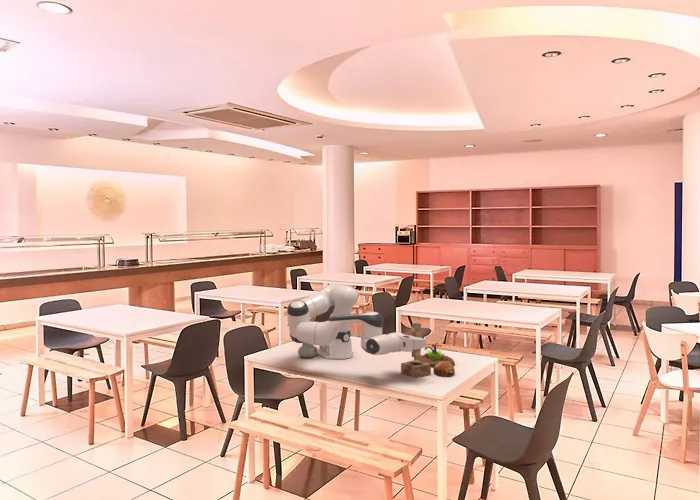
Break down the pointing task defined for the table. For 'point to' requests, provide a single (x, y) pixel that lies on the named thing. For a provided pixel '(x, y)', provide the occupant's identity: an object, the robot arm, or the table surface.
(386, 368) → the table surface
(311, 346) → the air freshener
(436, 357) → the plant
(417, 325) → the upright wooden post
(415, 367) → the square wooden socket base
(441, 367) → the bread roll
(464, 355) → the table surface
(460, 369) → the table surface
